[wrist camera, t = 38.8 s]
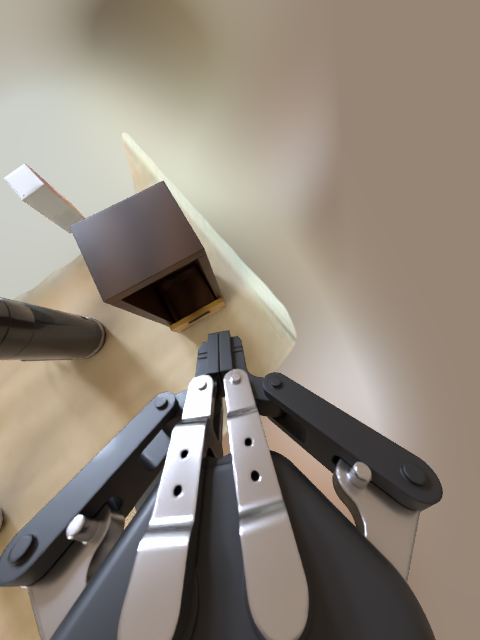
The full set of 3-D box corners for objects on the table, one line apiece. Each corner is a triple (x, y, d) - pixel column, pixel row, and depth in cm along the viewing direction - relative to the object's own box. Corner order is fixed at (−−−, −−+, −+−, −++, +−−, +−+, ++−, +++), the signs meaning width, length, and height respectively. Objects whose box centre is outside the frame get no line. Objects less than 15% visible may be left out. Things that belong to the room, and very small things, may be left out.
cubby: (177, 329, 42) (103, 302, 20) (156, 290, 44) (69, 226, 22) (224, 302, 43) (204, 248, 21) (202, 265, 44) (163, 180, 23)
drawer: (179, 334, 40) (171, 332, 36) (158, 293, 42) (148, 286, 38) (226, 307, 41) (224, 302, 37) (203, 268, 43) (199, 259, 39)
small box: (88, 221, 48) (45, 184, 37) (70, 234, 47) (21, 200, 37) (71, 202, 49) (24, 162, 38) (53, 215, 48) (1, 177, 38)
